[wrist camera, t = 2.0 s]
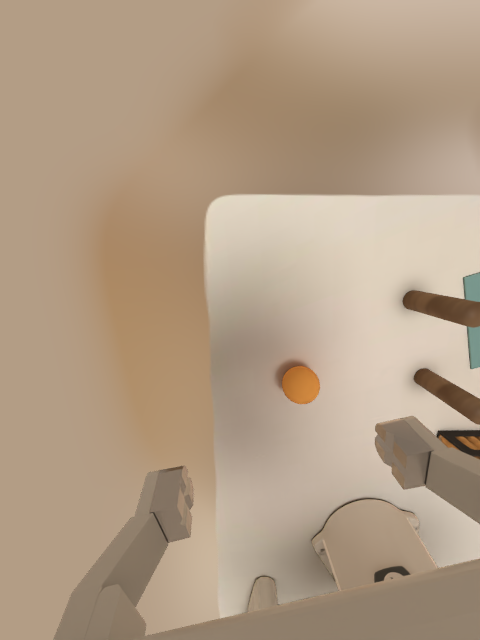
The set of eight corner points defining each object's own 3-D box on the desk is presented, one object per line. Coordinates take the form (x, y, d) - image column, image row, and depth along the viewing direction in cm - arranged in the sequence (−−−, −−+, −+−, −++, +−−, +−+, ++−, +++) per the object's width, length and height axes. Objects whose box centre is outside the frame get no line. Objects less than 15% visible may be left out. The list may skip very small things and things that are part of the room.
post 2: (432, 381, 36) (495, 420, 27) (415, 386, 36) (472, 427, 28) (430, 366, 35) (494, 401, 27) (413, 371, 36) (470, 408, 27)
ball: (316, 385, 36) (329, 405, 31) (283, 395, 36) (291, 416, 31) (308, 356, 35) (320, 371, 30) (275, 366, 35) (281, 383, 30)
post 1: (423, 306, 33) (490, 323, 24) (404, 311, 33) (464, 330, 25) (420, 288, 33) (489, 298, 24) (401, 293, 33) (462, 307, 24)
